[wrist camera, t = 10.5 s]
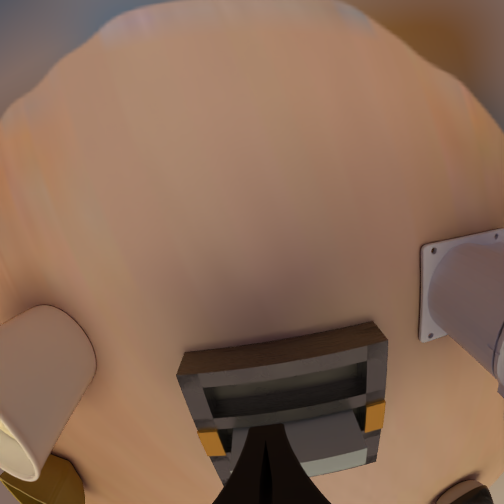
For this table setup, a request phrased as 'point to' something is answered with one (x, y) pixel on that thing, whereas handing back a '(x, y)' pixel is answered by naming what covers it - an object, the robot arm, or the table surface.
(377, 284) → the table surface
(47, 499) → the flower pot
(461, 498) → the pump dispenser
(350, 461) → the panel
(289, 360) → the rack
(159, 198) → the table surface
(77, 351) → the candle holder
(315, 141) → the table surface
